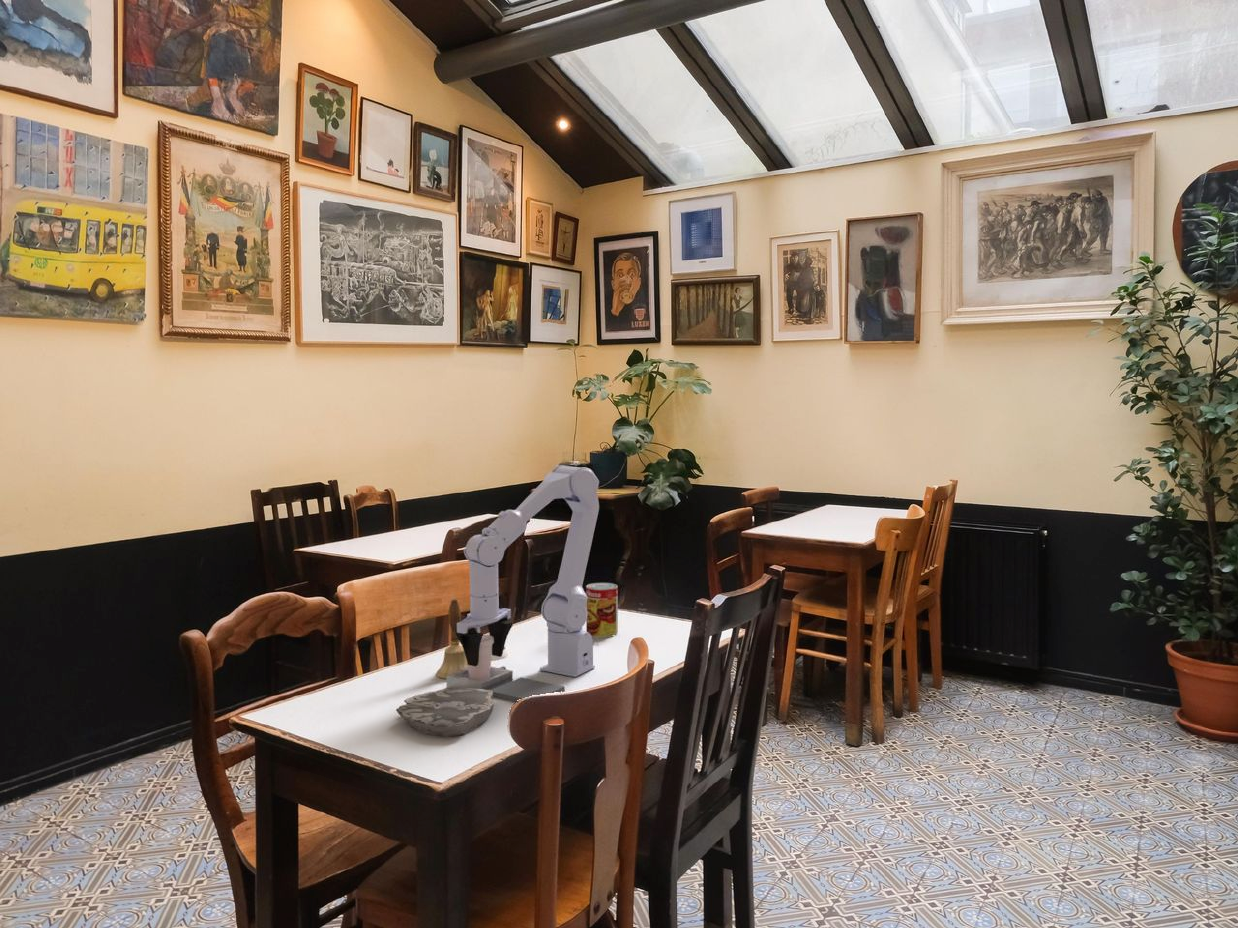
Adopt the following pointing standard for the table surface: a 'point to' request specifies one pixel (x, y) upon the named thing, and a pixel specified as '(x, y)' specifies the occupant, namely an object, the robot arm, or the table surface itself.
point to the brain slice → (448, 710)
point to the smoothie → (482, 659)
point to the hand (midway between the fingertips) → (485, 660)
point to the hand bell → (453, 646)
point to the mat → (525, 689)
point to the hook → (504, 655)
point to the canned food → (602, 609)
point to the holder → (463, 681)
